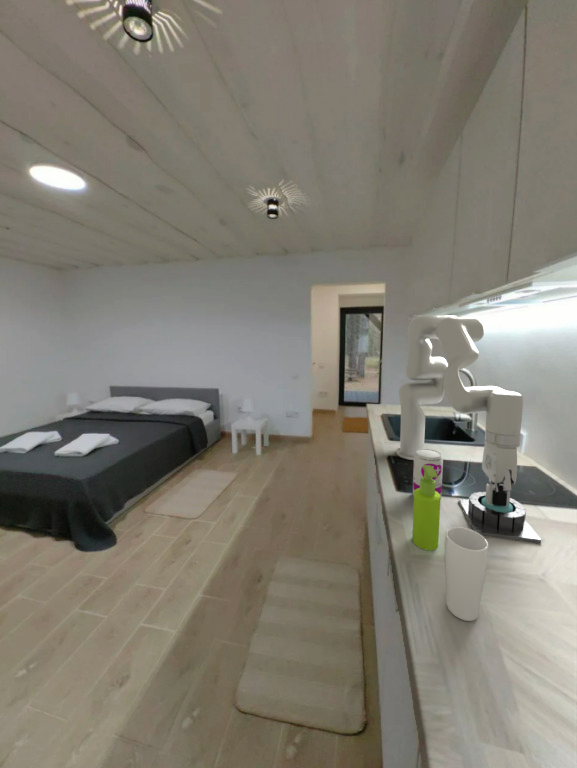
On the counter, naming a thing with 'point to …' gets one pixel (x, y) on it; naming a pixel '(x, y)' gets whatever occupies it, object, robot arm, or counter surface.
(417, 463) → the supplement can
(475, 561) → the drinking glass
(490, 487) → the cap
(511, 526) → the segmented ring on plate
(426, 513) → the soap dispenser
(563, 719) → the counter surface
